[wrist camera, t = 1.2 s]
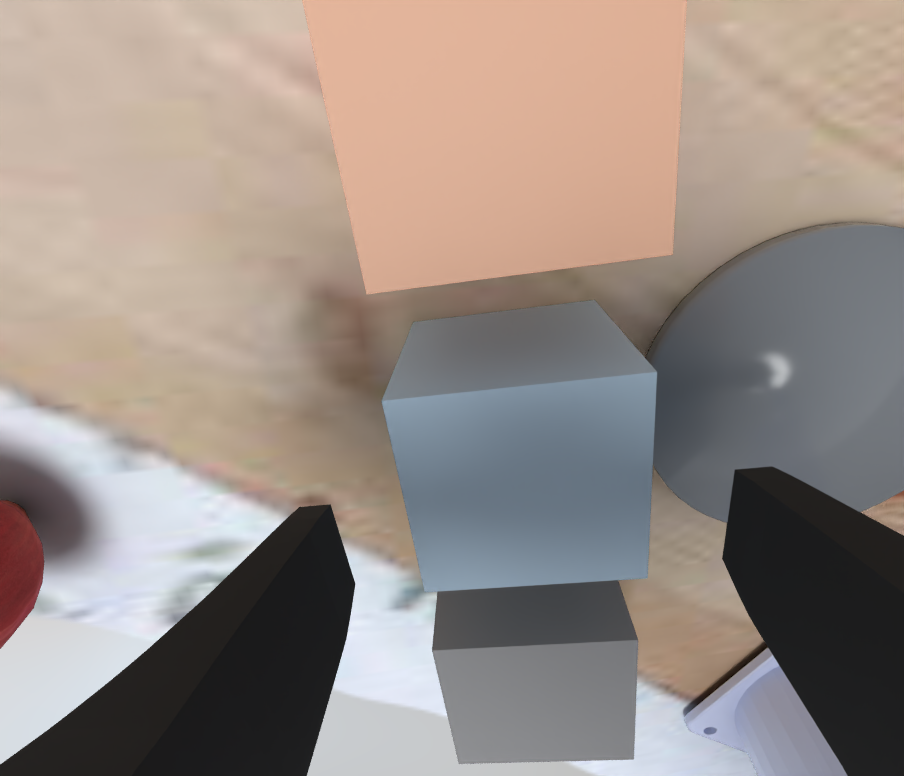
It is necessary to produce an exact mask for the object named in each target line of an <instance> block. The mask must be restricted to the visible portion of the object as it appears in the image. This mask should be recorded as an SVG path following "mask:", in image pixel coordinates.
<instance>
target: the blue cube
mask: <svg viewBox="0 0 904 776" xmlns="http://www.w3.org/2000/svg"><path fill="white" fill-rule="evenodd" d="M656 384H657V371H656V370H655V369H654V368H653V367H652V365H651V364H650V363H649V362H648V361H647V360H646V359H645V357H644V356H643V355H642V354H641V353H640V352H639V351H638V349H637V348H636V347H635V346H634V345H633V344H632V342H631V341H630V340H629V339H628V338H627V337H626V336H625V334H624V333H623V332H622V331H621V330H620V329H619V327H618V326H617V325H616V324H615V323H614V322H613V321H612V319H611V318H610V317H609V316H608V315H607V314H606V312H605V311H604V310H603V309H602V308H601V307H600V306H599V304H598V303H597V302H596V301H595V300H589V301H580V302H572V303H564V304H556V305H548V306H540V307H531V308H523V309H515V310H507V311H499V312H491V313H482V314H474V315H466V316H458V317H450V318H442V319H434V320H425V321H417V322H413V324H412V326H411V329H410V331H409V334H408V336H407V339H406V341H405V344H404V346H403V349H402V351H401V354H400V356H399V359H398V361H397V364H396V366H395V369H394V371H393V374H392V376H391V379H390V381H389V384H388V386H387V389H386V391H385V394H384V396H383V399H382V405H383V410H384V414H385V419H386V423H387V427H388V432H389V436H390V441H391V445H392V449H393V454H394V458H395V463H396V467H397V471H398V476H399V480H400V485H401V489H402V493H403V498H404V502H405V507H406V511H407V515H408V520H409V524H410V529H411V533H412V538H413V542H414V546H415V551H416V555H417V560H418V564H419V568H420V573H421V577H422V582H423V586H424V590H425V592H438V591H454V590H469V589H485V588H501V587H517V586H533V585H549V584H565V583H581V582H597V581H613V580H628V579H644V578H648V557H649V535H650V513H651V492H652V470H653V449H654V427H655V405H656Z"/></svg>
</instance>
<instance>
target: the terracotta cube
mask: <svg viewBox="0 0 904 776" xmlns="http://www.w3.org/2000/svg"><path fill="white" fill-rule="evenodd" d="M302 1H303V6H304V10H305V15H306V20H307V24H308V29H309V33H310V38H311V42H312V47H313V52H314V56H315V61H316V65H317V70H318V75H319V79H320V84H321V88H322V93H323V97H324V102H325V107H326V111H327V116H328V120H329V125H330V130H331V134H332V139H333V143H334V148H335V152H336V157H337V162H338V166H339V171H340V175H341V180H342V185H343V189H344V194H345V198H346V203H347V207H348V212H349V217H350V221H351V226H352V230H353V235H354V240H355V244H356V249H357V253H358V258H359V262H360V267H361V272H362V276H363V281H364V285H365V290H366V294H374V293H382V292H389V291H397V290H405V289H413V288H420V287H428V286H436V285H443V284H451V283H459V282H467V281H474V280H482V279H490V278H497V277H505V276H513V275H521V274H528V273H536V272H544V271H551V270H559V269H567V268H575V267H582V266H590V265H598V264H605V263H613V262H621V261H629V260H636V259H644V258H652V257H659V256H667V255H673V241H674V223H675V204H676V186H677V168H678V150H679V132H680V114H681V96H682V78H683V60H684V42H685V24H686V6H687V0H302Z"/></svg>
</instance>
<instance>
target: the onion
mask: <svg viewBox="0 0 904 776" xmlns="http://www.w3.org/2000/svg"><path fill="white" fill-rule="evenodd" d="M43 570H44V556H43V548H42V543H41V541H40V539H39V537H38V535H37V532H36V530H35V529H34V527H33V525H32V523H31V521H30V519H29V517H28V516H27V514H26V512H25V510H24V509H23V508H22V507H20V506H19V505H18V504H16V503H14V502H11V501H8V500H0V649H1V647H2V646H3V645H4V644H5V643H6V642H7V640H8V639H9V638H10V637H11V636H12V635H13V634H14V632H15V631H16V630H17V628H18V627H19V626H20V625H21V623H22V622H23V621H24V620H25V618H26V617H27V616H28V614H29V613H30V612H31V611H32V609H33V608H34V605H35V602H36V600H37V597H38V594H39V591H40V588H41V585H42V581H43Z"/></svg>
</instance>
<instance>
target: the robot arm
mask: <svg viewBox="0 0 904 776" xmlns="http://www.w3.org/2000/svg"><path fill="white" fill-rule="evenodd" d="M722 559H723V561H724V563H725V565H726V568H727V570H728V572H729V574H730V577H731V579H732V581H733V583H734V586H735V588H736V590H737V592H738V594H739V596H740V598H741V600H742V602H743V604H744V606H745V609H746V611H747V613H748V615H749V617H750V618H751V620H752V622H753V623H754V625H755V627H756V628H757V630H758V632H759V633H760V635H761V636H762V638H763V640H764V641H765V643H766V645H767V646H768V648H766V649H765V650H764V651H763V652H762V653H760V654H759V655H758V656H757V657H756V658H754V659H753V660H752V661H751V662H749V663H748V664H747V665H746V666H745V667H743V668H742V669H741V670H740V671H739V672H737V673H736V674H735V675H734V676H732V677H731V678H730V679H729V680H728V681H726V682H725V683H724V684H723V685H722V686H720V687H719V688H718V689H717V690H715V691H714V692H713V693H712V694H711V695H709V696H708V697H707V698H706V699H705V700H703V701H702V702H701V703H700V704H698V705H697V706H696V707H695V708H694V709H692V710H691V711H690V712H689V713H688V714H687V715H686V716H685V719H684V720H685V723H686V726H687V728H688V730H689V731H691V732H693V733H695V734H698V735H701V736H703V737H706V738H709V739H712V740H714V741H717V742H720V743H722V744H725V745H728V746H730V747H733V748H736V749H739V750H741V751H744V752H747V753H748V755H749V757H750V759H751V761H752V763H753V766H754V768H755V770H756V772H757V774H758V776H904V536H903V535H901V534H899V533H897V532H896V531H894V530H892V529H890V528H888V527H886V526H884V525H883V524H881V523H879V522H877V521H875V520H873V519H871V518H870V517H868V516H866V515H864V514H862V513H860V512H858V511H857V510H855V509H853V508H851V507H849V506H847V505H846V504H844V503H842V502H840V501H838V500H836V499H835V498H833V497H831V496H829V495H827V494H825V493H823V492H822V491H820V490H818V489H816V488H814V487H812V486H810V485H809V484H807V483H805V482H803V481H801V480H799V479H797V478H795V477H793V476H791V475H789V474H787V473H785V472H783V471H781V470H779V469H777V468H775V467H773V466H770V467H758V468H747V469H735V471H734V478H733V485H732V493H731V500H730V507H729V514H728V522H727V529H726V536H725V544H724V551H723V558H722ZM354 589H355V582H354V578H353V575H352V572H351V569H350V566H349V562H348V559H347V556H346V553H345V550H344V546H343V543H342V540H341V537H340V534H339V530H338V527H337V524H336V521H335V518H334V514H333V511H332V508H331V505H319V506H308V507H299V508H298V509H297V510H296V511H295V512H293V513H292V514H291V515H290V516H289V517H288V518H287V519H286V520H285V521H284V522H283V523H282V524H281V525H280V526H279V527H277V528H276V529H275V530H274V531H273V532H272V533H271V534H270V535H269V536H268V537H267V538H266V539H265V540H264V541H263V542H262V543H261V544H260V545H259V546H258V547H257V548H256V549H255V550H254V551H253V552H252V553H251V554H250V555H249V556H248V557H247V558H246V559H245V560H244V561H243V562H242V563H241V564H240V565H239V566H238V567H237V568H236V569H234V570H233V571H232V572H231V573H230V574H229V575H228V576H227V577H226V578H225V579H224V580H223V581H222V582H221V583H220V584H219V585H218V586H217V587H216V588H215V589H214V590H213V591H212V592H211V593H210V594H209V595H207V596H206V597H205V598H204V599H203V600H202V601H201V602H200V603H199V604H198V605H197V606H195V607H194V608H193V609H192V610H191V611H190V612H189V613H188V614H187V615H185V616H184V617H183V618H182V619H181V620H180V621H179V622H178V623H177V624H175V625H174V626H173V627H172V628H171V629H170V630H169V631H168V632H167V633H165V634H164V635H163V636H162V637H161V638H160V639H159V640H158V641H157V642H155V643H154V644H153V645H152V646H151V647H150V648H149V649H148V650H147V651H145V652H144V653H143V654H142V655H141V656H140V657H138V658H137V659H136V660H135V661H134V662H132V663H131V664H130V665H129V666H128V667H126V668H125V669H124V670H123V671H122V672H120V673H119V674H118V675H117V676H116V677H114V678H113V679H112V680H111V681H110V682H108V683H107V684H106V685H105V686H104V687H102V688H101V689H100V690H98V691H97V692H96V693H95V694H93V695H92V696H91V697H90V698H88V699H87V700H86V701H84V702H83V703H82V704H81V705H80V706H78V707H77V708H76V709H74V710H73V711H72V712H71V713H69V714H68V715H67V716H66V717H64V718H63V719H62V720H60V721H59V722H58V723H56V724H55V725H54V726H53V727H51V728H50V729H49V730H47V731H46V732H44V733H43V734H42V735H40V736H39V737H38V738H36V739H35V740H33V741H32V742H31V743H29V744H28V745H27V746H25V747H24V748H23V749H21V750H20V751H18V752H17V753H16V754H14V755H13V756H11V757H10V758H9V759H7V760H6V761H5V762H3V763H2V764H0V776H307V773H308V769H309V766H310V762H311V759H312V756H313V752H314V748H315V745H316V742H317V739H318V735H319V732H320V728H321V725H322V722H323V718H324V715H325V711H326V708H327V704H328V701H329V698H330V694H331V691H332V687H333V684H334V680H335V677H336V673H337V670H338V666H339V663H340V659H341V656H342V652H343V649H344V645H345V641H346V637H347V632H348V626H349V620H350V615H351V609H352V602H353V596H354Z"/></svg>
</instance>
